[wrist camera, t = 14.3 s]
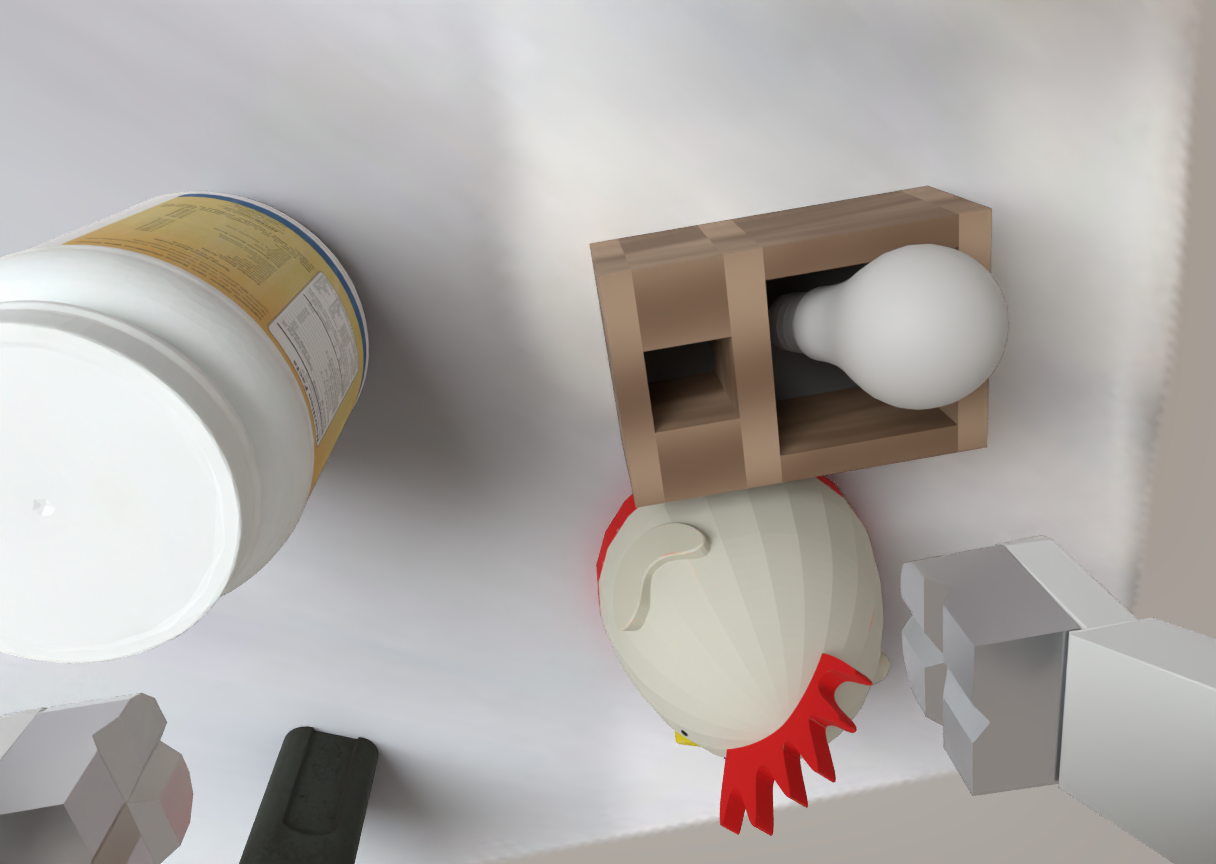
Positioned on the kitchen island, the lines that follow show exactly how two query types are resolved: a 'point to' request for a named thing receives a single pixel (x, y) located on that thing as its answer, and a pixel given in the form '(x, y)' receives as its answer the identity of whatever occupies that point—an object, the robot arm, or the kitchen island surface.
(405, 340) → the kitchen island surface
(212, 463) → the supplement tub
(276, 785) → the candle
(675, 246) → the socket block
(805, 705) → the kitchen timer
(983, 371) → the lightbulb
